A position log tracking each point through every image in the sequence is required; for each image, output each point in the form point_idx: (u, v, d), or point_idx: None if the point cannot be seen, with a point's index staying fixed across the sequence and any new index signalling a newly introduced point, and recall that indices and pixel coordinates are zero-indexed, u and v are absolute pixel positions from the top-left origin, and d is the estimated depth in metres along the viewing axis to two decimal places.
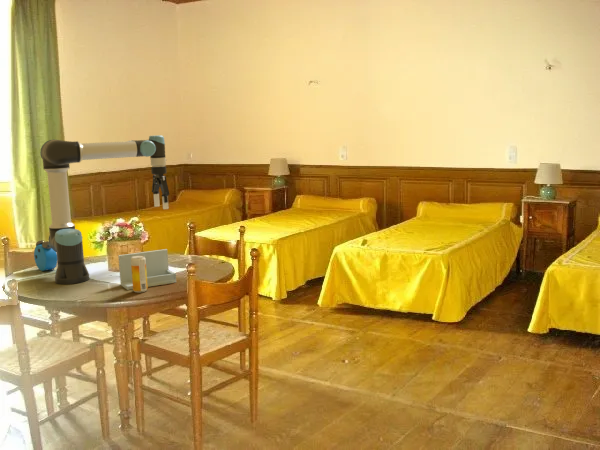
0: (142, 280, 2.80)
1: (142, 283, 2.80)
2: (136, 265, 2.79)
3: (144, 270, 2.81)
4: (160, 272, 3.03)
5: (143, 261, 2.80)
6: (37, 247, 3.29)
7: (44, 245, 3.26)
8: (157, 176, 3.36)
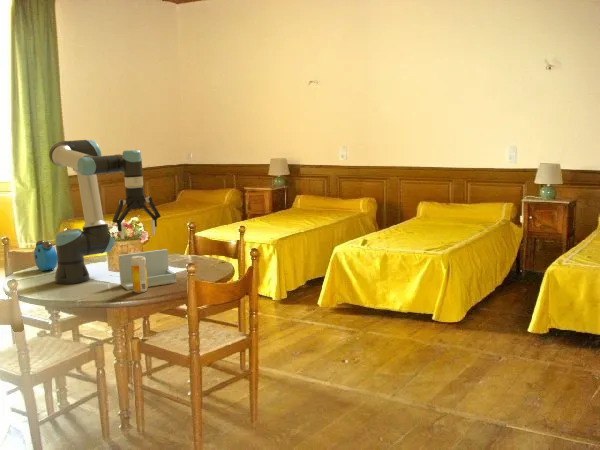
0: (142, 280, 2.80)
1: (142, 283, 2.80)
2: (136, 265, 2.79)
3: (144, 270, 2.81)
4: (160, 272, 3.03)
5: (143, 261, 2.80)
6: (37, 247, 3.29)
7: (44, 245, 3.26)
8: None
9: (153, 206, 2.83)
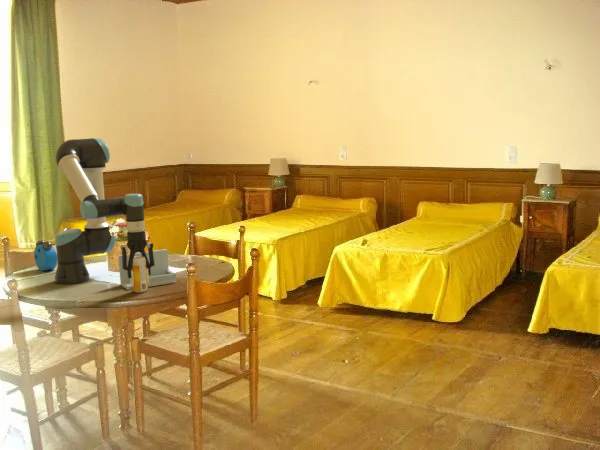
0: (142, 280, 2.80)
1: (142, 283, 2.80)
2: (137, 265, 2.79)
3: (144, 270, 2.81)
4: (160, 272, 3.03)
5: (143, 261, 2.80)
6: (37, 247, 3.29)
7: (44, 245, 3.26)
8: None
9: (151, 253, 2.83)
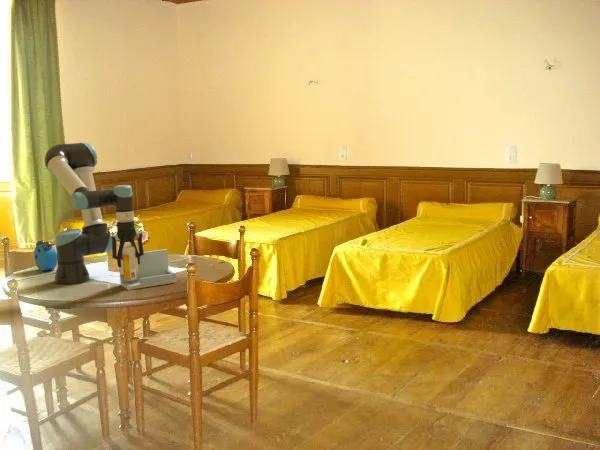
0: (131, 268, 2.89)
1: (131, 272, 2.89)
2: (126, 254, 2.87)
3: (134, 259, 2.90)
4: (160, 272, 3.03)
5: (133, 250, 2.89)
6: (37, 247, 3.29)
7: (44, 245, 3.26)
8: None
9: (140, 243, 2.92)
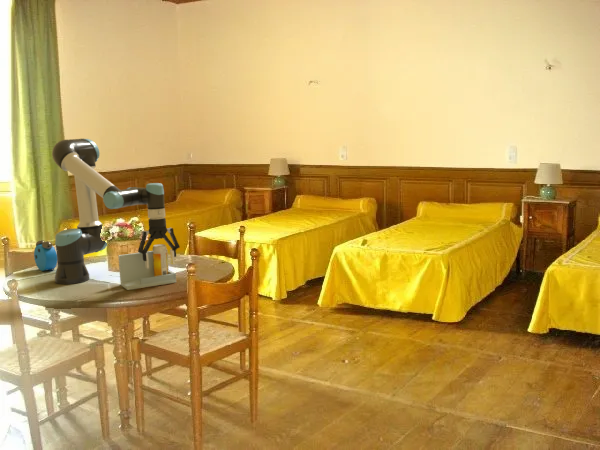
0: (163, 267, 2.96)
1: (163, 270, 2.97)
2: (158, 253, 2.95)
3: (165, 258, 2.97)
4: None
5: (164, 249, 2.96)
6: (37, 247, 3.29)
7: (44, 245, 3.26)
8: None
9: (174, 237, 2.99)
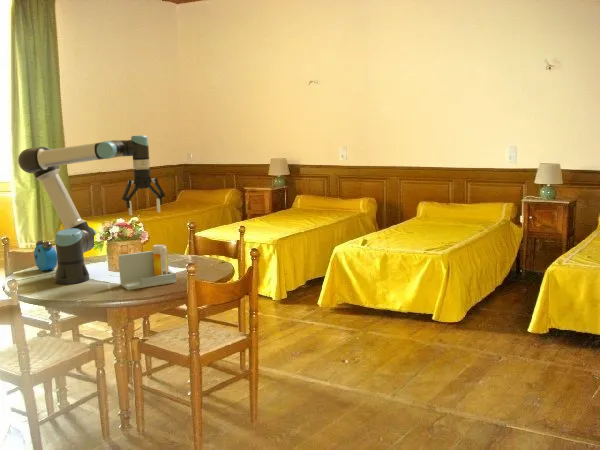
0: (163, 267, 2.96)
1: (163, 270, 2.97)
2: (158, 253, 2.95)
3: (165, 258, 2.97)
4: None
5: (164, 249, 2.96)
6: (37, 247, 3.29)
7: (44, 245, 3.26)
8: None
9: (158, 186, 3.14)
